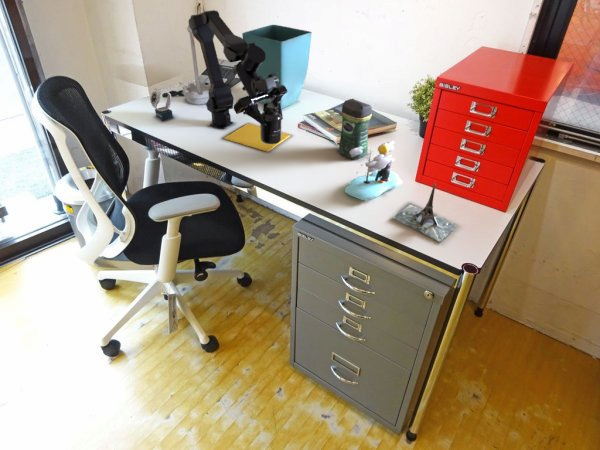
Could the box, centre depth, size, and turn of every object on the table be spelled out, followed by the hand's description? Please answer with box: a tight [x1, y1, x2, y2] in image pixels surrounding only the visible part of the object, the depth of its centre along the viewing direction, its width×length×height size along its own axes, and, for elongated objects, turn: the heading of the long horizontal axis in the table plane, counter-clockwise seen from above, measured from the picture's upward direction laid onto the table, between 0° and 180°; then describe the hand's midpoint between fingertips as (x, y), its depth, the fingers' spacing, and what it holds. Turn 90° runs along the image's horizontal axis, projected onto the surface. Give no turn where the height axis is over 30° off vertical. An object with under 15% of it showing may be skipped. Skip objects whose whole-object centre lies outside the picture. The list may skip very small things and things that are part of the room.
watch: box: [149, 88, 174, 122], centre depth 170 cm, size 6×8×11 cm
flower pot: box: [241, 24, 313, 110], centre depth 180 cm, size 20×20×28 cm
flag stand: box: [181, 24, 211, 105], centre depth 180 cm, size 13×13×30 cm
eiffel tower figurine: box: [392, 181, 458, 243], centre depth 117 cm, size 15×10×13 cm
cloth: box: [224, 122, 291, 153], centre depth 161 cm, size 19×15×1 cm
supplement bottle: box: [259, 103, 282, 144], centre depth 141 cm, size 7×7×12 cm
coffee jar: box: [338, 98, 373, 160], centre depth 147 cm, size 10×8×19 cm
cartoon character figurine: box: [344, 140, 403, 201], centre depth 130 cm, size 20×11×15 cm, turn 126°
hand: (273, 122), depth 140 cm, fingers closed on supplement bottle, 7 cm apart
